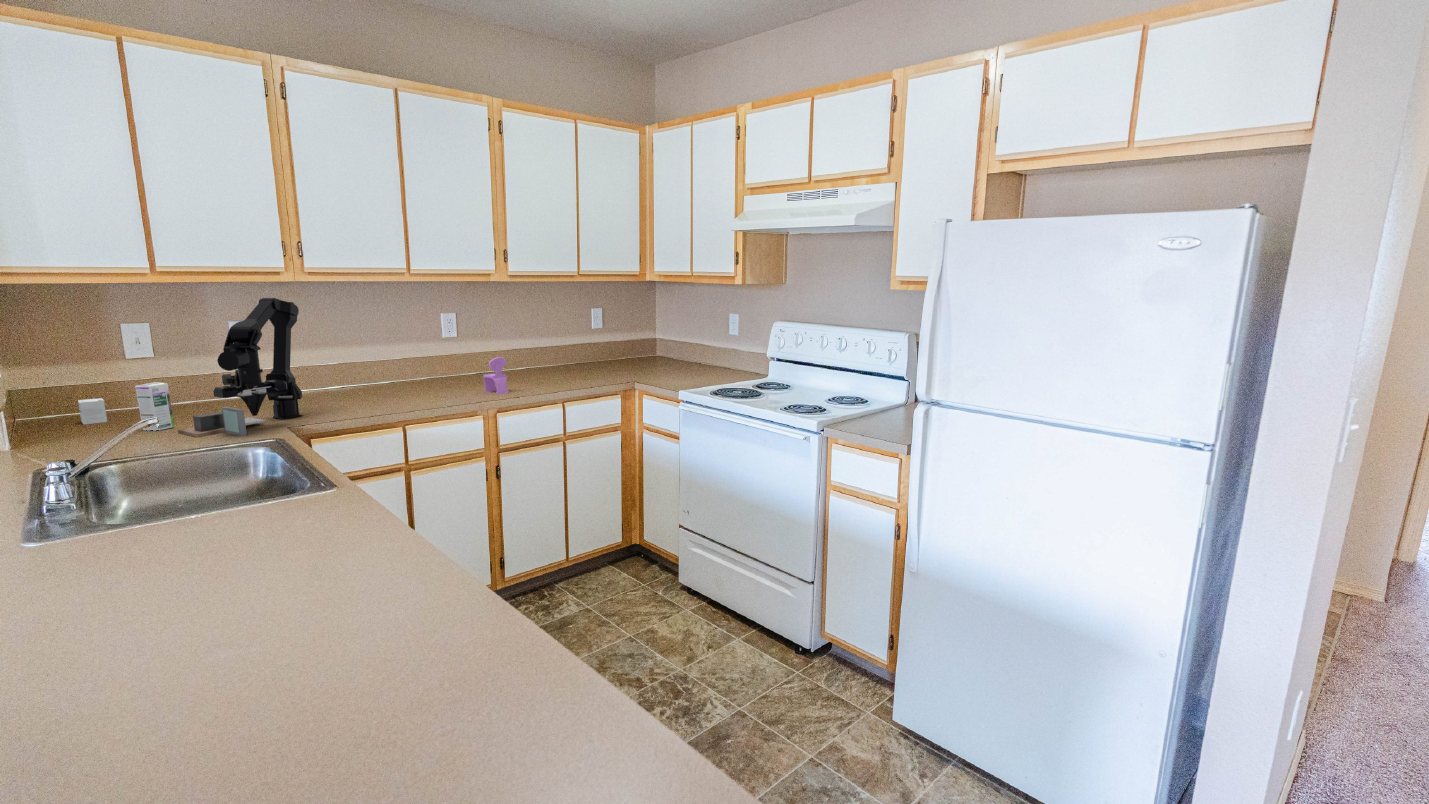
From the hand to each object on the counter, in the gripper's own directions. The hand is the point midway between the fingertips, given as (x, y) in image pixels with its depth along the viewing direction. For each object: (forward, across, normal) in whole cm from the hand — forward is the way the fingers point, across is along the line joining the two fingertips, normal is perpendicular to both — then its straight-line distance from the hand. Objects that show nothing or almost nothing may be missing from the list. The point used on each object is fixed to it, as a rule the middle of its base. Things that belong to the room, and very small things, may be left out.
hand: (254, 415), depth 210 cm
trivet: (+5, +8, -10) cm, 14 cm away
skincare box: (+5, +19, -58) cm, 61 cm away
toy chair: (+5, -87, +14) cm, 88 cm away
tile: (+5, +6, 0) cm, 8 cm away
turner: (+4, +3, -9) cm, 10 cm away
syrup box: (+5, +14, -28) cm, 32 cm away
